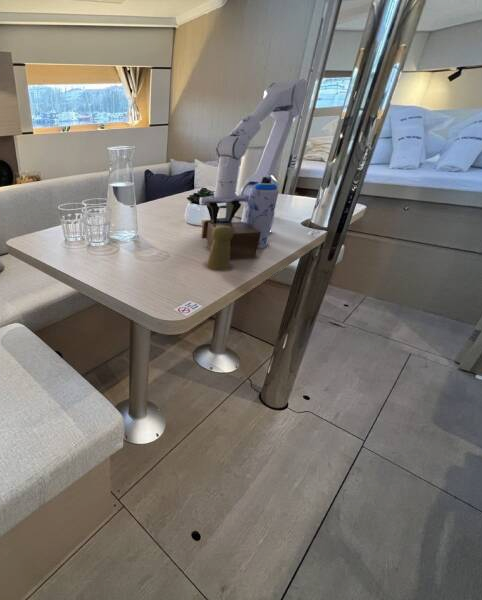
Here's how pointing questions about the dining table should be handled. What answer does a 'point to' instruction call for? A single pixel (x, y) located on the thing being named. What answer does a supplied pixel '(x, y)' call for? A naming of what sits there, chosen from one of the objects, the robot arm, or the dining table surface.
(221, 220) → the dark blue-grey block
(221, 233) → the cork
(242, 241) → the cabinet
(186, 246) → the dining table surface
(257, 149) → the cylinder vase
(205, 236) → the drawer
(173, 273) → the dining table surface
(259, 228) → the aerosol can
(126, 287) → the dining table surface
